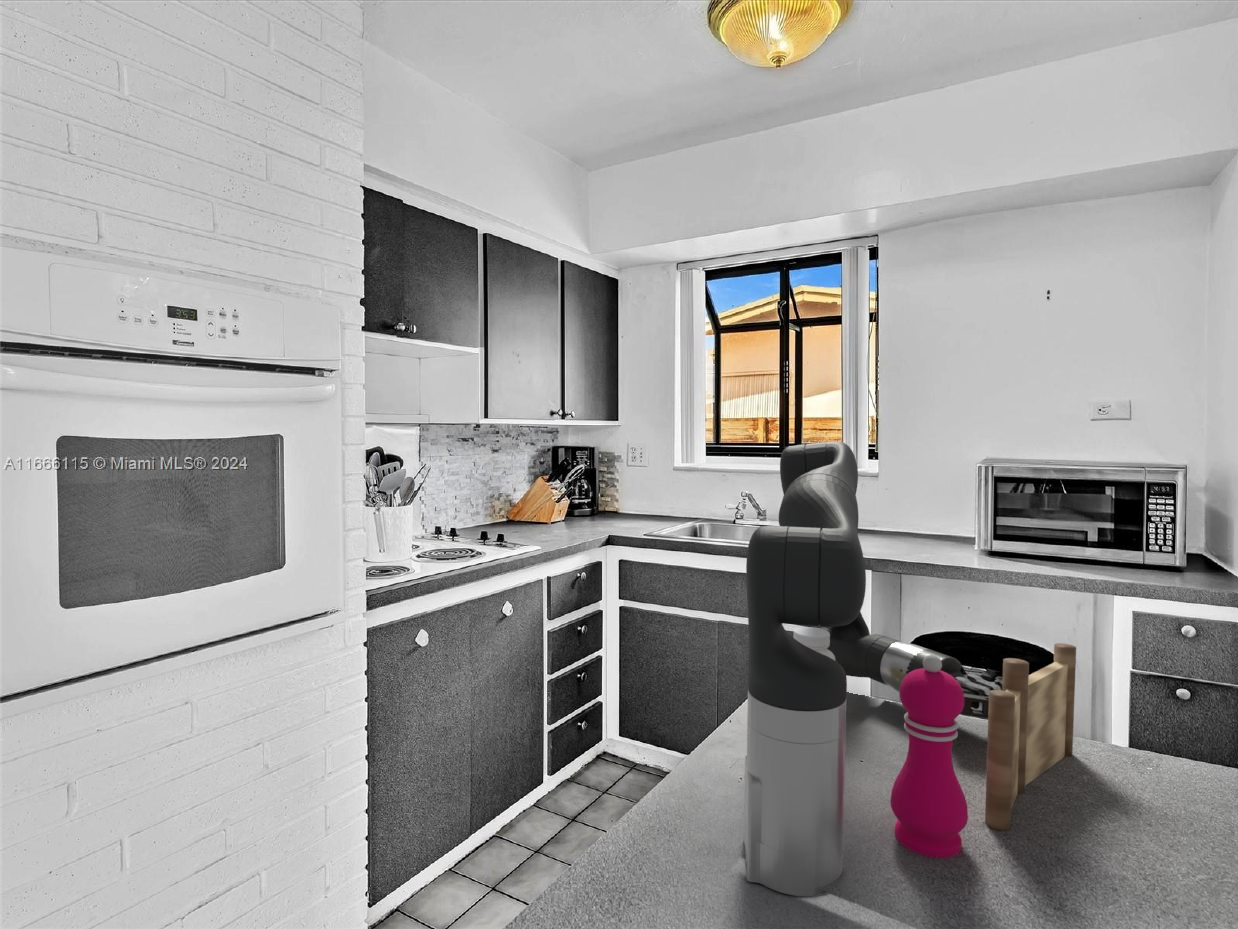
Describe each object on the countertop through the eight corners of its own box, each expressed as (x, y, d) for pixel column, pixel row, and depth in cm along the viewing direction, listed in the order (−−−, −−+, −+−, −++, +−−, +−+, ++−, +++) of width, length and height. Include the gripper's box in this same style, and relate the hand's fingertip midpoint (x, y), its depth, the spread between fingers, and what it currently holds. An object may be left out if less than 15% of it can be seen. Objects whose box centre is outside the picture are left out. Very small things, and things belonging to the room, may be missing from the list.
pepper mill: (975, 875, 68) (982, 669, 67) (896, 865, 70) (901, 664, 69) (956, 833, 75) (961, 647, 74) (884, 825, 77) (888, 642, 76)
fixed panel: (1001, 781, 85) (1005, 656, 84) (1026, 787, 83) (1030, 661, 82) (982, 825, 75) (986, 685, 74) (1009, 833, 73) (1014, 691, 73)
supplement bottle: (811, 730, 101) (813, 641, 100) (774, 713, 107) (776, 629, 106) (844, 719, 105) (846, 633, 104) (807, 704, 111) (809, 622, 110)
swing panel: (1029, 788, 83) (1033, 669, 82) (1007, 780, 85) (1011, 664, 84) (1075, 753, 92) (1079, 646, 91) (1054, 746, 94) (1058, 642, 93)
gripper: (890, 655, 101) (1006, 698, 86) (952, 642, 107) (1070, 680, 92) (888, 707, 101) (1003, 759, 86) (950, 691, 108) (1067, 736, 92)
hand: (1037, 718), depth 89 cm, fingers closed
